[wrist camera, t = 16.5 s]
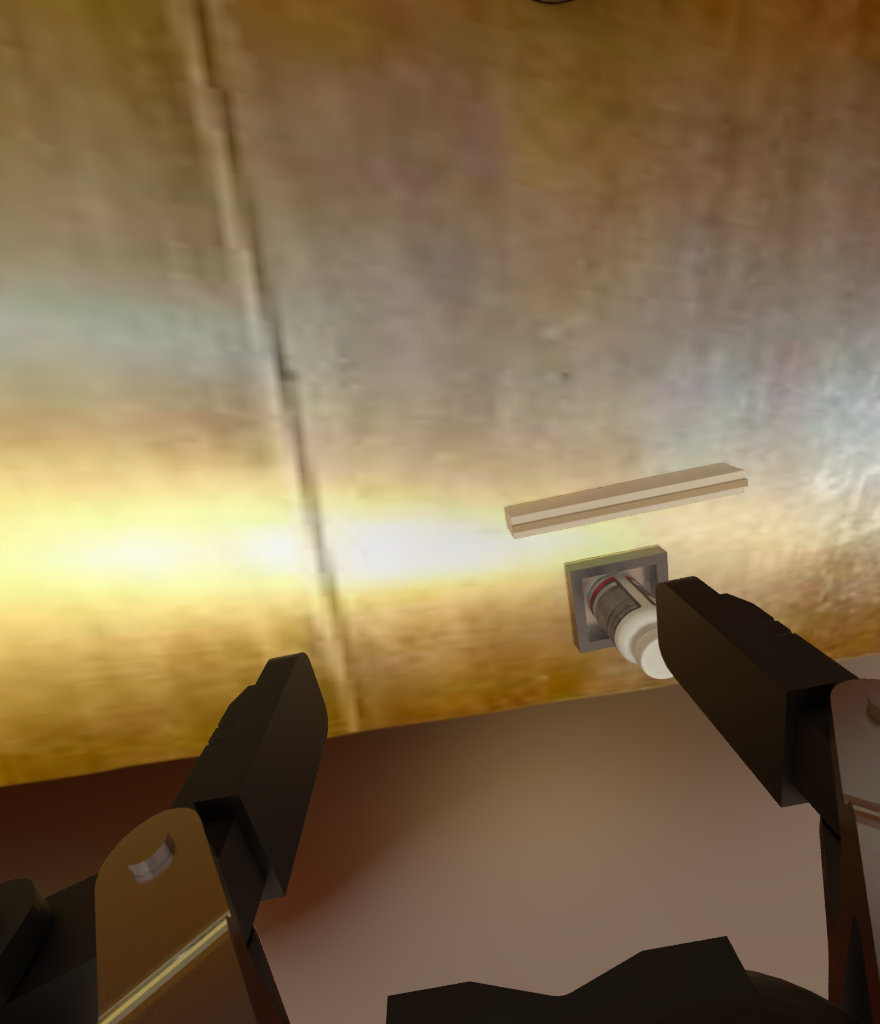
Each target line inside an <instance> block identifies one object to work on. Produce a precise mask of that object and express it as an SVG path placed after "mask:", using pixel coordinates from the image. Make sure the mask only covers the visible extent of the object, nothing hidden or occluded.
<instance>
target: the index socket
mask: <svg viewBox="0 0 880 1024" xmlns="http://www.w3.org/2000/svg"><path fill="white" fill-rule="evenodd" d="M564 566H565V574H566V582H567V590H568V598H569V606H570V614H571V622H572V630H573V638H574V643H575V645H576V647H577V649H578V650H579V652H580V653H583V652H588V651H593V650H598V649H603V648H608V647H614V646H615V645H614V644H613V642H612V641H611V640H610V638H609V637H608V635H607V634H606V633H605V631H604V630H603V628H602V627H601V626H600V624H599V623H598V622H597V620H596V619H595V617H594V616H593V614H592V613H591V611H590V608H589V604H588V599H589V594H590V592H591V589H592V588H593V586H594V585H595V584H596V583H597V582H598V581H600V580H601V579H602V578H604V577H606V576H609V575H612V574H626V575H629V576H631V577H633V578H634V579H636V580H637V581H638V582H639V583H640V584H641V585H642V586H643V587H644V588H645V589H646V590H647V591H648V592H649V593H651V594H652V595H653V596H654V597H655V598H656V596H655V590H656V586H657V584H658V583H660V582H665V581H668V563H667V552H666V551H665V550H663V549H662V548H661V547H659V546H658V545H653V546H648V547H643V548H638V549H633V550H629V551H624V552H619V553H614V554H609V555H604V556H599V557H594V558H589V559H584V560H579V561H574V562H569V563H564Z"/></svg>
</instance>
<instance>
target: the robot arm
mask: <svg viewBox="0 0 880 1024" xmlns="http://www.w3.org/2000/svg"><path fill="white" fill-rule="evenodd" d="M540 1H543V2H561V1H566V0H540ZM655 596H656V613H657V631H658V644H659V649H660V653H661V656H662V658H663V661H664V663H665V665H666V667H667V668H668V670H669V671H670V673H671V674H672V675H673V676H674V677H675V679H676V680H677V681H678V682H679V683H680V685H681V686H682V687H683V688H684V690H685V691H686V692H687V693H688V694H689V696H690V697H691V698H692V699H693V701H694V702H695V703H696V704H697V705H698V707H699V708H700V709H701V710H702V712H703V713H704V714H705V715H706V716H707V718H708V719H709V720H710V721H711V723H712V724H713V725H714V726H715V727H716V729H717V730H718V731H719V732H720V734H721V735H722V736H723V737H724V738H725V740H726V741H727V742H728V743H729V744H730V746H731V747H732V748H733V749H734V751H735V752H736V753H737V754H738V755H739V757H740V758H741V759H742V760H743V761H744V763H745V764H746V765H747V766H748V768H749V769H750V770H751V771H752V772H753V774H754V775H755V776H756V777H757V779H758V780H759V781H760V782H761V784H762V785H763V786H764V787H765V788H766V790H767V791H768V792H769V793H770V795H771V796H772V797H773V798H774V799H775V801H776V802H777V803H778V804H779V805H780V807H786V806H792V805H797V804H803V803H808V802H809V803H810V804H811V806H812V807H813V808H814V809H815V810H816V811H817V812H818V813H819V814H820V822H819V836H820V849H821V862H822V875H823V888H824V901H825V914H826V926H827V940H828V963H829V964H828V966H829V967H828V969H829V970H828V1000H827V999H825V998H823V997H821V996H819V995H817V994H815V993H813V992H812V991H809V990H807V989H804V988H802V987H800V986H797V985H795V984H792V983H790V982H788V981H785V980H783V979H780V978H776V977H773V976H769V975H766V974H763V973H759V972H755V971H749V970H745V969H744V967H743V966H742V964H741V962H740V960H739V958H738V956H737V954H736V953H735V951H734V949H733V947H732V945H731V944H730V941H729V940H728V938H727V936H724V937H718V938H712V939H707V940H701V941H695V942H690V943H684V944H678V945H673V946H667V947H662V948H656V949H650V950H644V951H641V952H639V953H638V954H636V955H635V956H633V957H631V958H629V959H628V960H626V961H625V962H623V963H621V964H619V965H617V966H616V967H614V968H612V969H611V970H609V971H607V972H605V973H604V974H602V975H600V976H599V977H597V978H595V979H594V980H592V981H590V982H588V983H587V984H585V985H583V986H582V987H580V988H578V989H576V990H575V991H573V992H571V993H569V994H567V995H564V996H550V995H544V994H538V993H533V992H527V991H521V990H515V989H509V988H504V987H498V986H492V985H487V984H481V983H476V982H464V983H458V984H453V985H447V986H441V987H436V988H431V989H424V990H419V991H413V992H408V993H402V994H396V995H391V996H388V999H387V1017H386V1024H880V680H878V679H859V678H858V677H856V676H855V675H854V674H852V673H851V672H849V671H848V670H846V669H845V668H844V667H842V666H841V665H839V664H838V663H837V662H835V661H834V660H832V659H831V658H830V657H828V656H827V655H825V654H824V653H822V652H821V651H820V650H818V649H817V648H815V647H814V646H813V645H811V644H810V643H808V642H807V641H805V640H804V639H803V638H801V637H800V636H798V635H797V634H796V633H794V634H792V633H791V630H790V629H788V628H787V627H786V626H784V625H783V624H781V623H780V622H779V621H774V619H773V617H772V616H770V615H769V614H767V613H766V612H764V611H763V610H762V609H760V608H759V607H757V606H756V605H755V604H753V603H751V602H748V601H745V600H743V599H740V598H738V597H735V596H732V595H730V594H727V593H725V594H719V593H717V592H716V591H715V590H713V589H712V588H711V587H709V586H708V585H707V584H705V583H704V582H703V581H701V580H700V579H699V578H697V577H695V576H690V577H685V578H680V579H675V580H670V581H665V582H660V583H658V584H657V586H656V590H655ZM327 732H328V716H327V710H326V706H325V703H324V700H323V697H322V694H321V691H320V688H319V686H318V683H317V680H316V677H315V674H314V671H313V668H312V665H311V662H310V660H309V658H308V656H307V655H306V654H305V653H304V652H302V653H297V654H292V655H287V656H281V657H276V658H271V659H270V660H269V661H268V662H267V664H266V665H265V667H264V669H263V671H262V673H261V675H260V677H259V679H258V681H257V682H256V684H255V685H251V686H248V687H247V688H246V689H245V690H244V691H243V692H242V693H241V694H240V695H239V696H238V697H237V698H236V699H235V700H234V701H233V702H232V703H231V704H230V705H229V707H228V708H227V710H226V712H225V714H224V715H223V717H222V719H221V721H220V722H219V724H218V728H216V729H215V731H214V733H213V734H212V736H211V738H210V740H209V741H208V742H209V745H208V746H206V747H205V748H204V750H203V752H202V754H201V755H200V757H199V759H198V761H197V762H196V764H195V766H194V768H193V769H192V771H191V773H190V774H189V776H188V778H187V780H186V781H185V783H184V785H183V787H182V788H181V790H180V792H179V794H178V795H177V797H176V799H175V801H174V802H173V804H172V806H171V808H170V810H167V811H165V812H162V813H160V814H158V815H156V816H154V817H152V818H150V819H148V820H147V821H145V822H144V823H142V824H141V825H139V826H138V827H137V828H135V829H134V830H133V831H132V832H131V833H129V834H128V835H127V836H126V837H125V838H124V839H123V840H122V841H121V842H120V843H119V844H118V845H117V847H116V848H115V849H114V850H113V851H112V852H111V854H110V855H109V856H108V858H107V859H106V861H105V863H104V864H103V866H102V868H101V869H100V872H99V873H97V874H95V875H93V876H91V877H89V878H87V879H85V880H83V881H81V882H78V883H76V884H74V885H72V886H70V887H68V888H66V889H64V890H61V891H59V892H57V893H55V894H53V895H51V896H49V897H47V898H43V896H42V895H41V894H40V892H39V890H38V889H37V888H36V886H35V885H34V884H33V882H32V881H30V880H28V879H14V880H10V881H7V882H3V883H1V884H0V1024H290V1021H289V1018H288V1015H287V1013H286V1010H285V1007H284V1004H283V1001H282V999H281V996H280V993H279V990H278V988H277V985H276V982H275V979H274V976H273V974H272V971H271V968H270V966H269V963H268V960H267V957H266V954H265V952H264V949H263V946H262V943H261V941H260V938H259V935H258V932H257V931H256V929H255V926H254V924H253V923H254V920H255V916H256V913H257V910H258V907H259V903H260V901H262V900H267V899H273V898H278V897H284V896H285V895H286V891H287V887H288V884H289V880H290V875H291V872H292V868H293V864H294V861H295V857H296V853H297V849H298V845H299V841H300V837H301V834H302V830H303V826H304V822H305V818H306V814H307V811H308V807H309V803H310V799H311V795H312V791H313V788H314V784H315V780H316V776H317V772H318V768H319V764H320V761H321V757H322V753H323V749H324V745H325V741H326V738H327Z"/></svg>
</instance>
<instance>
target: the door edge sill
mask: <svg viewBox="0 0 880 1024" xmlns="http://www.w3.org/2000/svg"><path fill="white" fill-rule="evenodd" d="M745 486H748V479H746V478H745V470H743V469H740V468H736V467H733V466H730V465H727V464H724V463H719V464H714V465H709V466H704V467H700V468H695V469H690V470H685V471H680V472H675V473H670V474H665V475H660V476H655V477H650V478H646V479H641V480H636V481H631V482H626V483H621V484H616V485H611V486H606V487H601V488H597V489H592V490H587V491H582V492H577V493H572V494H567V495H562V496H557V497H552V498H547V499H543V500H538V501H533V502H528V503H523V504H518V505H513V506H508V507H504V508H505V514H506V520H507V526H508V529H509V531H510V532H511V534H512V536H513V538H514V539H517V538H522V537H527V536H532V535H537V534H542V533H547V532H552V531H557V530H562V529H566V528H571V527H576V526H581V525H586V524H591V523H596V522H601V521H606V520H611V519H616V518H621V517H626V516H631V515H636V514H641V513H646V512H651V511H656V510H661V509H665V508H670V507H675V506H680V505H685V504H690V503H695V502H700V501H705V500H710V499H715V498H720V497H725V496H730V495H735V494H740V493H744V487H745Z"/></svg>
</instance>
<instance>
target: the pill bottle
mask: <svg viewBox="0 0 880 1024" xmlns="http://www.w3.org/2000/svg"><path fill="white" fill-rule="evenodd" d="M588 604H589V608H590V611H591V613H592V614H593V616H594V617H595V619H596V620H597V622H598V623H599V624H600V626H601V627H602V628H603V630H604V631H605V633H606V634H607V635H608V637H609V638H610V640H611V641H612V642H613V644H614V645H615V647H616V648H617V650H618V651H619V652H620V653H621V655H622V656H623V657H624V658H626V659H627V660H628V661H630V662H632V663H635V664H638V665H639V666H640V667H641V668H642V670H643V671H644V672H645V673H646V674H647V675H649V676H650V677H653V678H657V679H667V678H671V677H673V675H672V674H671V673H670V671H669V670H668V668H667V667H666V665H665V663H664V661H663V658H662V656H661V653H660V649H659V644H658V631H657V613H656V598H655V597H654V596H653V595H652V594H651V593H649V592H648V591H647V590H646V589H645V588H644V587H643V586H642V585H641V584H640V583H639V582H638V581H637V580H636V579H634V578H633V577H631V576H629V575H626V574H612V575H609V576H606V577H604V578H602V579H601V580H600V581H598V582H597V583H596V584H595V585H594V586H593V588H592V589H591V592H590V594H589V599H588Z"/></svg>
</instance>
